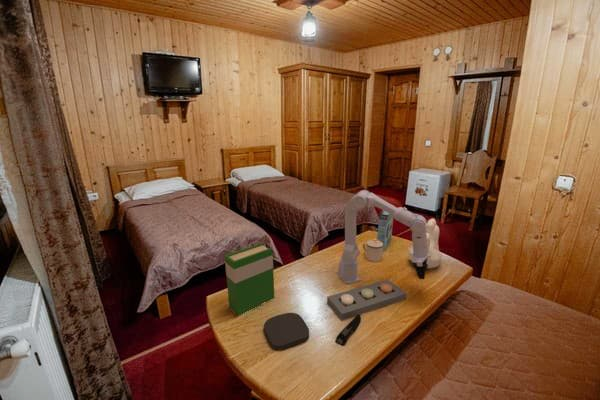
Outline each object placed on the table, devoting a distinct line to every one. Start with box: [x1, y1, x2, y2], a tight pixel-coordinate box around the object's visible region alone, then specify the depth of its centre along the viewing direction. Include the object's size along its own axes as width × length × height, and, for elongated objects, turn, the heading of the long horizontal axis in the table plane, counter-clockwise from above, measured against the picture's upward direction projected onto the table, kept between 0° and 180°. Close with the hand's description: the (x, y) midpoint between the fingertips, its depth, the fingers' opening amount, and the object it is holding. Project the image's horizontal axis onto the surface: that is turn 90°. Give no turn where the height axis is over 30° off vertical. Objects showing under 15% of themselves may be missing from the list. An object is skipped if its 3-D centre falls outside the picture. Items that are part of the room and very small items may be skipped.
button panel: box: [326, 278, 408, 321], centre depth 121 cm, size 12×32×3 cm, turn 114°
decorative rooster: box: [407, 218, 442, 270], centre depth 145 cm, size 25×16×25 cm, turn 133°
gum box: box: [376, 204, 395, 253], centre depth 170 cm, size 20×5×23 cm, turn 151°
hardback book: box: [224, 242, 275, 317], centre depth 117 cm, size 18×7×24 cm, turn 130°
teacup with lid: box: [362, 238, 384, 263], centre depth 157 cm, size 12×9×12 cm
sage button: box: [361, 288, 374, 300], centre depth 120 cm, size 5×5×2 cm
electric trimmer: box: [334, 314, 362, 347], centre depth 104 cm, size 4×16×3 cm, turn 142°
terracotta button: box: [380, 283, 392, 294], centre depth 124 cm, size 5×5×2 cm
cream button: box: [341, 294, 354, 307], centre depth 117 cm, size 5×5×2 cm
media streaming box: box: [263, 312, 310, 351], centre depth 104 cm, size 15×15×3 cm
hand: (422, 274), depth 122 cm, fingers open, 7 cm apart
